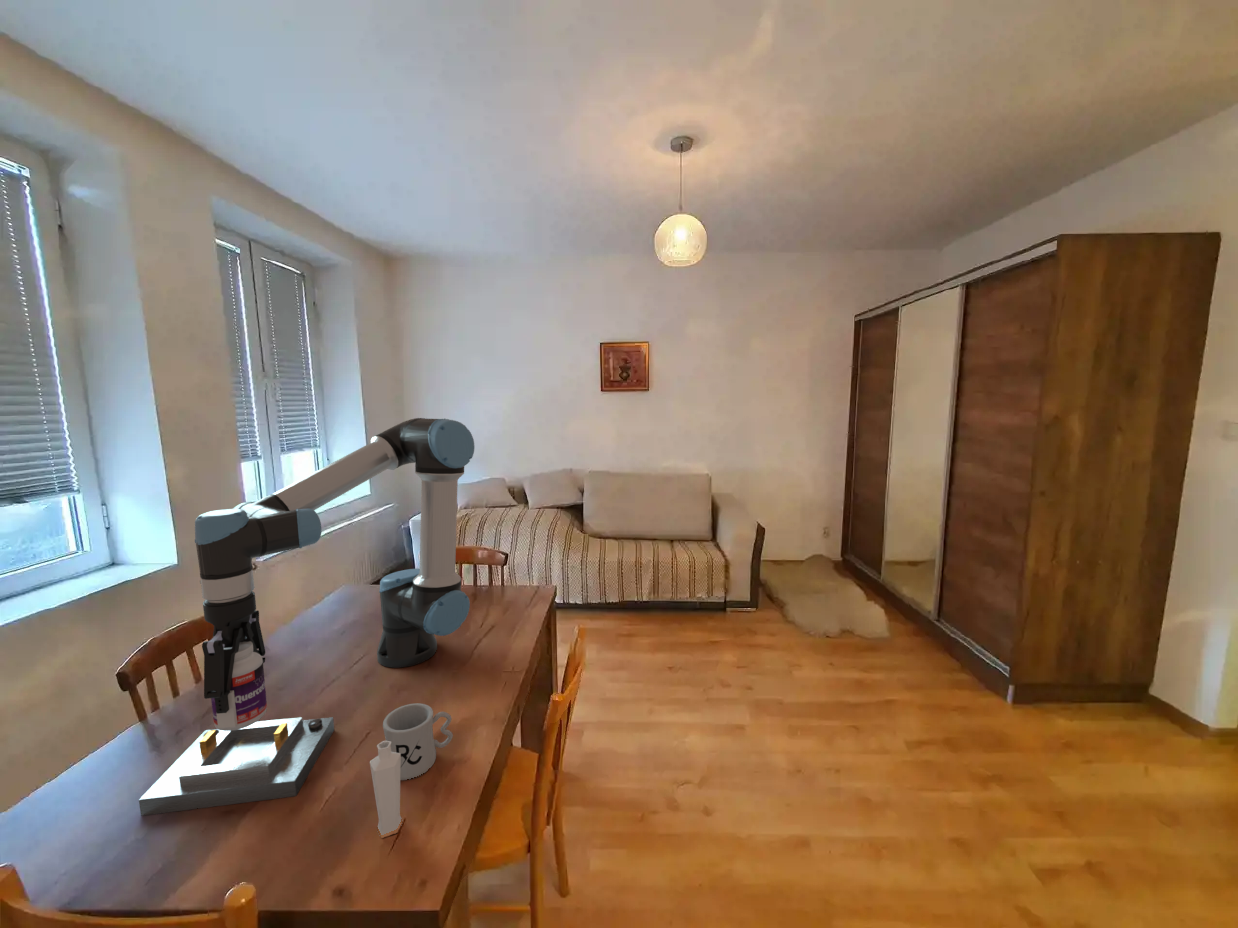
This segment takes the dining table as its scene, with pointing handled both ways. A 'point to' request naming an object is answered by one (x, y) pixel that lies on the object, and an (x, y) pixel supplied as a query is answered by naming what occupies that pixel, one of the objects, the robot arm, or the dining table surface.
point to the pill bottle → (246, 687)
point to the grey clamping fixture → (240, 766)
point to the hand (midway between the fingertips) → (241, 710)
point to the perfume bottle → (387, 787)
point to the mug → (414, 737)
